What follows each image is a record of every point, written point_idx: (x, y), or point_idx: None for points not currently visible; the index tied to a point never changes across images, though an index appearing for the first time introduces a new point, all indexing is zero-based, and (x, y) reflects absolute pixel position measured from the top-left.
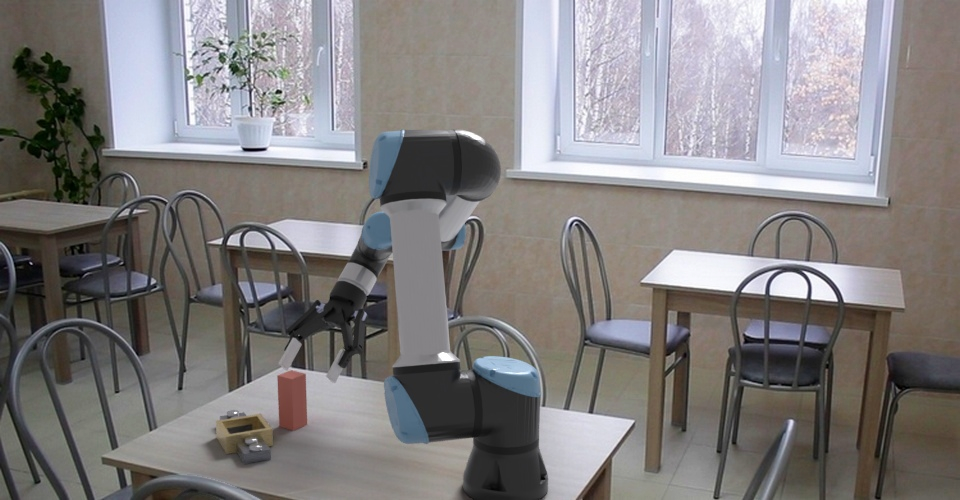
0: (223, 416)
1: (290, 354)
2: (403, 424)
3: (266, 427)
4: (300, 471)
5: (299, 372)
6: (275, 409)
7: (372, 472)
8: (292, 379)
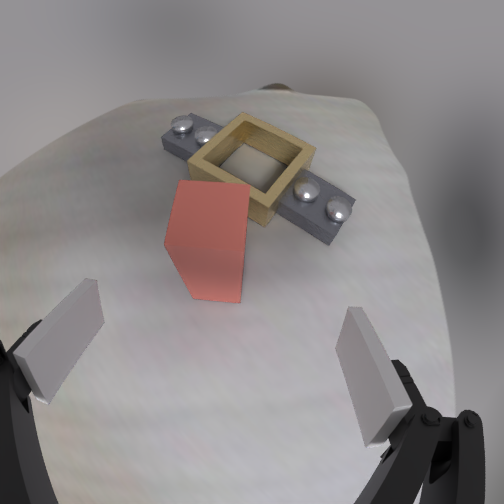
0: (349, 201)
1: (358, 364)
2: None
3: (202, 160)
4: (107, 149)
5: (195, 244)
6: (329, 341)
7: (23, 196)
8: (179, 184)
